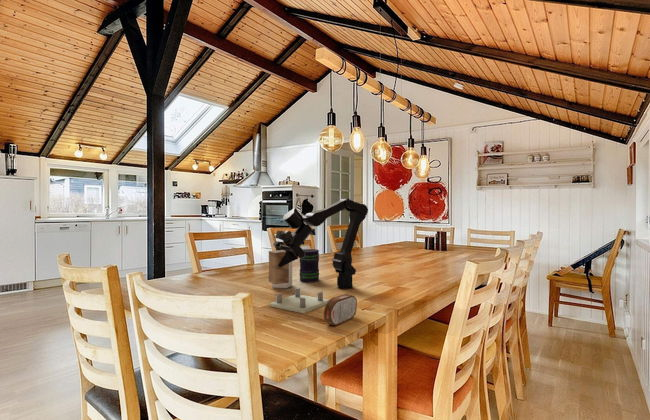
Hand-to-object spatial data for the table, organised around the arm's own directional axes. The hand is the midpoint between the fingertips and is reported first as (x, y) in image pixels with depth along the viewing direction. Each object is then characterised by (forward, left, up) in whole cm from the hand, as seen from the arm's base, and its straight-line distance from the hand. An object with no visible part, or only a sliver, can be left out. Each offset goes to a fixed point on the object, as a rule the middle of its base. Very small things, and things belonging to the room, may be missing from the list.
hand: (275, 265), depth 144 cm
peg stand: (-11, +8, -13) cm, 19 cm away
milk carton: (+1, -21, -14) cm, 25 cm away
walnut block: (-1, -1, -7) cm, 7 cm away
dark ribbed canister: (-10, -35, -14) cm, 39 cm away
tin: (-27, +27, -14) cm, 41 cm away
